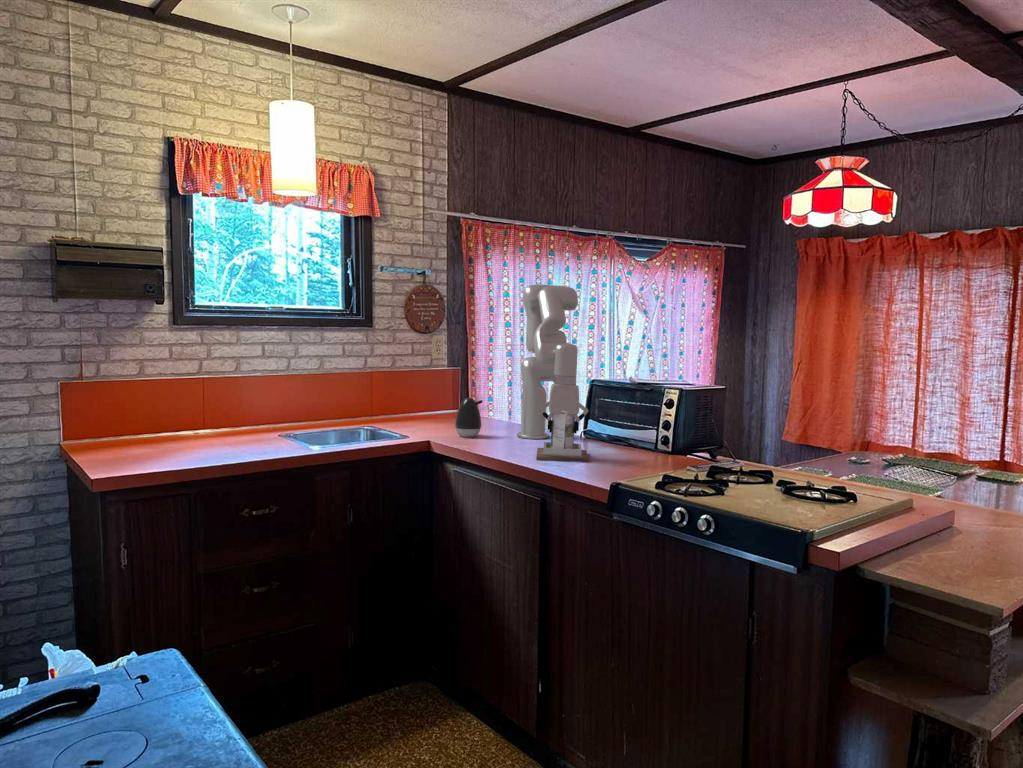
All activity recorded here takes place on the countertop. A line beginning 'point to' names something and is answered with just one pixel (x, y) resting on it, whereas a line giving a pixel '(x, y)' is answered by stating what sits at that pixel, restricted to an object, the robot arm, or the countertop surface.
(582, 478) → the countertop surface
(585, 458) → the tray
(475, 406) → the pump dispenser
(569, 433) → the syrup box
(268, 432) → the countertop surface
